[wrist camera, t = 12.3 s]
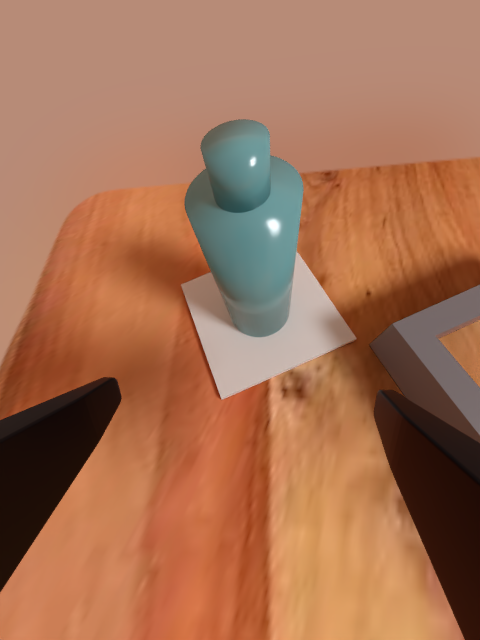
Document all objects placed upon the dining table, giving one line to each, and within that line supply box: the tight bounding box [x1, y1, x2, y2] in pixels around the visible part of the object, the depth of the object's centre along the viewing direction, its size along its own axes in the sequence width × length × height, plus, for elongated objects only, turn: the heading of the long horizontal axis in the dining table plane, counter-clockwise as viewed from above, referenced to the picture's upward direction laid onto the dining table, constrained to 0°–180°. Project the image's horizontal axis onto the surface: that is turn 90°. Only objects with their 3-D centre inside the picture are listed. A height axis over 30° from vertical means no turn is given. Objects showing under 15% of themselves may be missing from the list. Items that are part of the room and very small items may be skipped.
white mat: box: [181, 250, 357, 400], centre depth 20 cm, size 11×11×1 cm
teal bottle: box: [185, 120, 303, 337], centre depth 14 cm, size 5×5×13 cm
